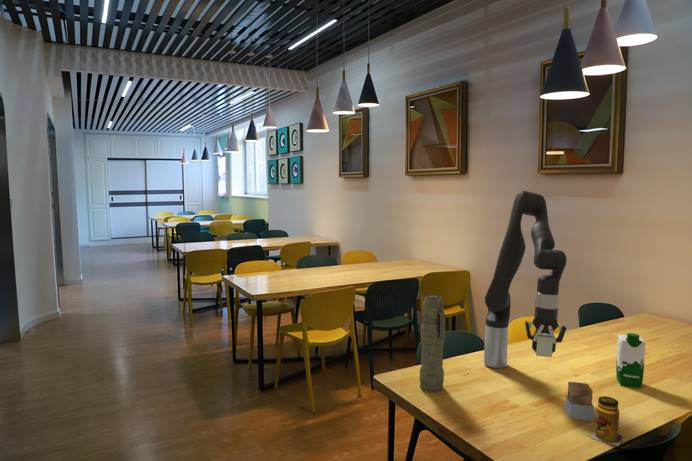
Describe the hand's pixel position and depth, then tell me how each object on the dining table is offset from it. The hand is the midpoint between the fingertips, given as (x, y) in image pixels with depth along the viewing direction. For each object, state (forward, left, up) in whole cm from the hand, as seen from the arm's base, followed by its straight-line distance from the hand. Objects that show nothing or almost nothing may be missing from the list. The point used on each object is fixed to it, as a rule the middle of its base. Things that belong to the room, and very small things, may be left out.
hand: (543, 351), depth 166 cm
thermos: (-39, -3, -17) cm, 43 cm away
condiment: (+15, -25, -17) cm, 33 cm away
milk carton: (+35, +21, -17) cm, 44 cm away
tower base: (+10, -12, -17) cm, 23 cm away
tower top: (+10, -12, -12) cm, 19 cm away
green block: (0, 0, -1) cm, 1 cm away
